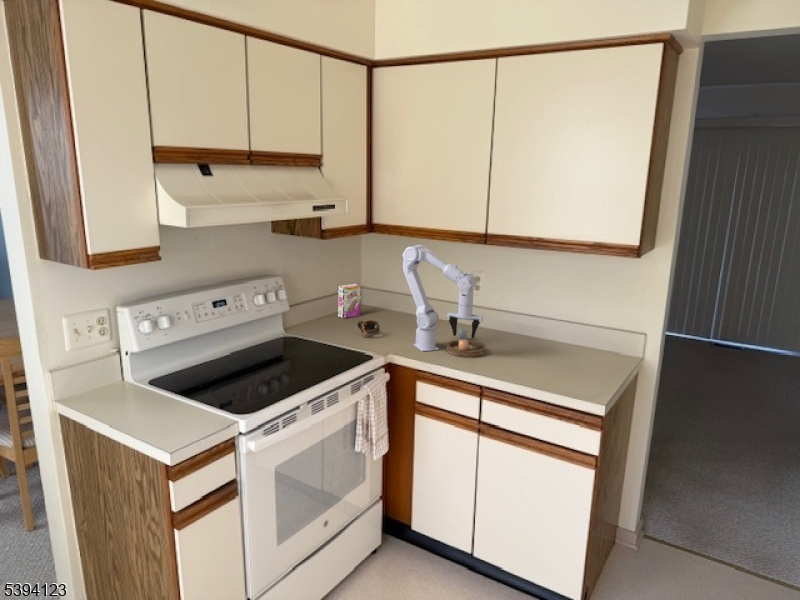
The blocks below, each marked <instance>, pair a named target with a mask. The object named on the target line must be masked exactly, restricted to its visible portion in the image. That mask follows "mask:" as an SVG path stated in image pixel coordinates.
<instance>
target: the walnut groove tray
mask: <svg viewBox="0 0 800 600" xmlns="http://www.w3.org/2000/svg"><path fill="white" fill-rule="evenodd" d="M467 340H468V339H467ZM468 341H469V343H468V351H461V350H458V347H459V340H458V339H457V340H451V341H449V342H447V343H446V352H447V353H448V354H450V355H452V356H453V357H459V358H467V359H469V358H471V359H473V358H479V357H482V356H484V355H485V354H486V345H485V344H484V343H482V342H479V341H476V340H475V341H474V340H470V339H469V340H468Z"/></svg>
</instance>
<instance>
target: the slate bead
mask: <svg viewBox="0 0 800 600" xmlns="http://www.w3.org/2000/svg"><path fill="white" fill-rule="evenodd" d="M460 339H466V340H468V329H467V328H464V327H463V328H462V327H461V328H458V329H457V340H460Z"/></svg>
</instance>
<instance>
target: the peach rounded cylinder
mask: <svg viewBox="0 0 800 600" xmlns="http://www.w3.org/2000/svg"><path fill="white" fill-rule="evenodd" d="M468 343H469V341H468V339H467V340H466V339H460V340H459V347H458V350H461V351H468Z"/></svg>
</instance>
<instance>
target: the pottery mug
mask: <svg viewBox="0 0 800 600" xmlns="http://www.w3.org/2000/svg"><path fill="white" fill-rule="evenodd" d="M357 327H358V329H359V330H360V331H361V333H363V334H362V337H363V338H368V337H371V336H374V335H376V334H378V333H379V332H381V328H380V327H381V326H380V324H379V322H377V321H376V320H374V319H367V320H364V321H362V320H359V321H358V322H357Z"/></svg>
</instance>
